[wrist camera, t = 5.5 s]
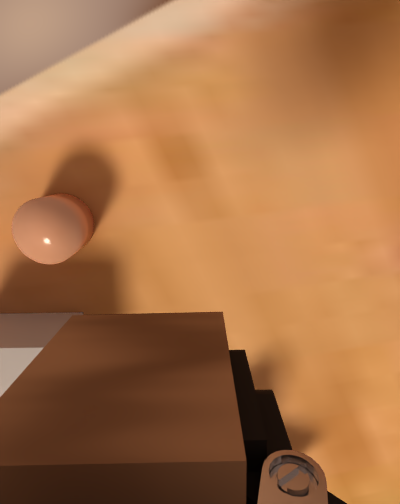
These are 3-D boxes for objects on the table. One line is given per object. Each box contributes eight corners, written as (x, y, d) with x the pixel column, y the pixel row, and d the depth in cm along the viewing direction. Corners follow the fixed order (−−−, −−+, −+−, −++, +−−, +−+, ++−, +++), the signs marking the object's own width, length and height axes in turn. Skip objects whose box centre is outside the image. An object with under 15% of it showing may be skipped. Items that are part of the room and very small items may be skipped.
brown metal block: (222, 311, 11) (246, 461, 6) (223, 439, 13) (245, 673, 7) (72, 315, 11) (-61, 466, 6) (87, 442, 13) (-11, 678, 7)
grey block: (83, 311, 25) (57, 347, 20) (92, 394, 27) (69, 445, 22) (-13, 312, 25) (-63, 348, 20) (2, 395, 27) (-41, 447, 22)
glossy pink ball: (91, 192, 23) (75, 197, 20) (97, 250, 24) (83, 263, 21) (30, 194, 23) (6, 199, 20) (39, 252, 24) (17, 265, 21)
